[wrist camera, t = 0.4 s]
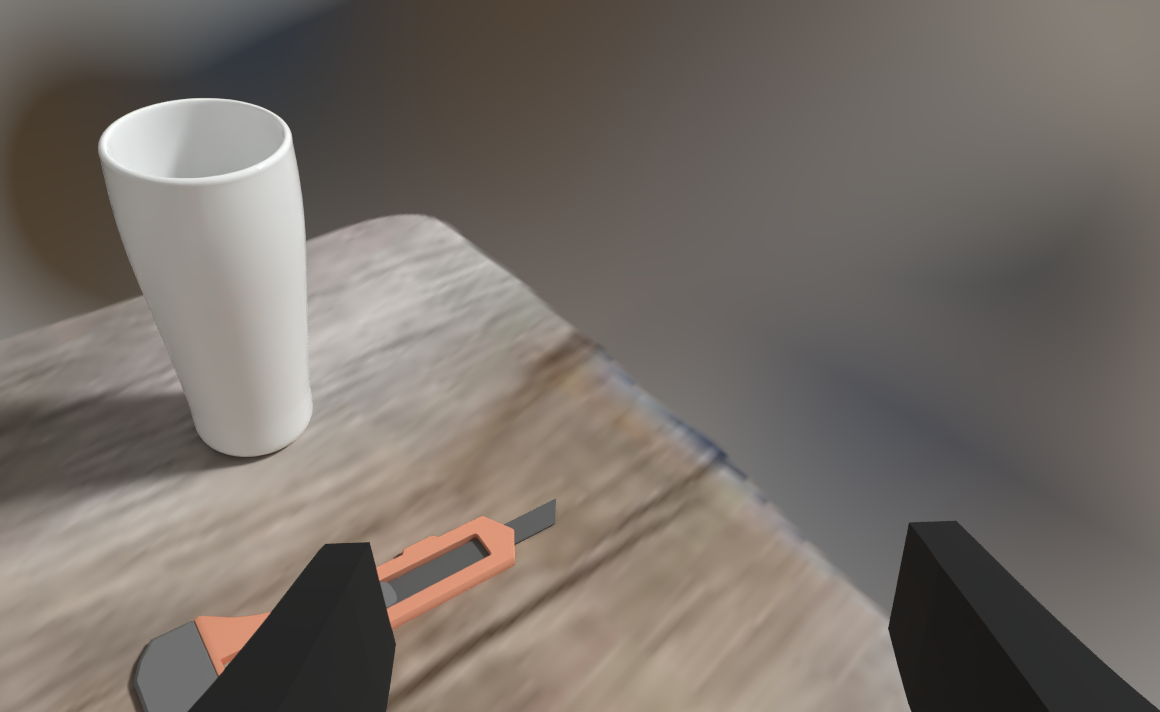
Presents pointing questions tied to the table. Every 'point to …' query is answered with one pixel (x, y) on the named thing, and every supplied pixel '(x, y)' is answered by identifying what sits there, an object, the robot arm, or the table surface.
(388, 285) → the table surface
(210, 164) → the drinking glass
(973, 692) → the robot arm
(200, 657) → the utility knife
